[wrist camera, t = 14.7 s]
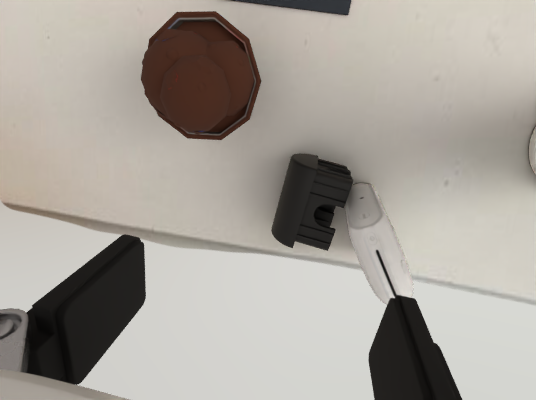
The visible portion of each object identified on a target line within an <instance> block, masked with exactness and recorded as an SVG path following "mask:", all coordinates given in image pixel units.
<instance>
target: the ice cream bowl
mask: <svg viewBox="0 0 536 400" xmlns="http://www.w3.org/2000/svg"><path fill="white" fill-rule="evenodd" d="M142 64H143V68H142V75H141V81H142V84H143V86H144V89H145V95H146V97H147V98H148V100H149V102H150V104H151V105H152V106H153V107H154V109H155V110H156V111H157V114H158V116H159V117H161V118H162V119H163V120H164V121H166V122H167V123H168V124H170V125H171V126H172V127H173V128H175V129H176V130H177V131H179V132H180V133H181V134H183V135H184V136H185V137H186V138H192V139H212V140H222V139H223V138H225V137H226V136H228V135H229V134H230V133H232V132H233V131H234V130H236V129H237V128H238V127H240V126H241V125H243V124H244V123H245V122H247V121H248V120H249V119H250V116H251V113H252V110H253V107H254V103H255V100H256V97H257V93H258V90H259V87H260V84H261V79H260V75H259V72H258V68H257V65H256V61H255V58H254V54H253V51H252V47H251V44H250V41H249V39H248V38H247V37H246V36H245V35H244V34H242V33H241V32H240V31H239V30H238V29H236V28H235V27H234V26H233V25H232V24H230V23H229V22H228V21H227V20H226V19H224V18H223V17H222V16H221V15H220V14H218V13H217V12H216V11H213V12H176V13H175V14H174V15H173V16H172V17H171V18H170V19H169V20H168V21H167V22H166V23H165V24H164V25H163V26H162V27H161V28H160V29H159V30H158V31H157V32H156V33H155V34H154V35H153V36H152V37H151V38H150V39H149V45H148V50H147V51H146V52H145V54H144V59H143V61H142Z"/></svg>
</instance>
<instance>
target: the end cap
mask: <svg viewBox="0 0 536 400" xmlns="http://www.w3.org/2000/svg"><path fill="white" fill-rule="evenodd" d="M350 175H351V172H350V171H349V170H348V169H347V167H346V166H343V165H340V164H336V163H332V162H329V161H325V160H321V159H318V156H315V155H311V154H302V153H299V154H294V155H292V156H291V159H290V163H289V166H288V170H287V174H286V177H285V181H284V185H283V188H282V192H281V196H280V200H279V203H278V207H277V211H276V214H275V218H274V222H273V225H272V234H273V236H274V237H275V238H276V239H277V240H278V241H279V242H280V243H282V244H284V245H286V246H288V247H291V248H293V246H294V242H295V241H296V242H299V243H303V244H306V245H310V246H313V247H317V248H320V249H323V250H327V251H328V249H329V247H330V244H331V241H332V238H333V236H334V233H335V229H334V228H331V227H330V225H331V222H332V219H333V216H334V213H333V212H334V209H335V207H336V206H338V207H342V208H344V206H345V204H346V201H347V198H348V195H349V193H350V190H351V187H352V184H353V180H352V177H351V176H350Z"/></svg>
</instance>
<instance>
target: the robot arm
mask: <svg viewBox="0 0 536 400" xmlns="http://www.w3.org/2000/svg"><path fill="white" fill-rule="evenodd" d="M529 159H530V164H531V167H532V169H533V172H534V173H535V174H536V127H535V129H534V131H533V134H532V137H531V140H530V145H529ZM144 260H145V259H144V243H143V242H141V240H140V238H138V237H134V236H130V235H122V236H121V237H119V238H118V239H117V240H116V241H114V242H113V243H112V244H110V245H109V246H108V247H106V248H105V249H104V250H103V251H101V252H100V253H99V254H97V255H96V256H95V257H94V258H92V259H91V260H90V261H88V262H87V263H86V264H85V265H84V266H82V267H81V268H79V269H78V270H77V271H76V272H74V273H73V274H72V275H70V276H69V277H68V278H67V279H65V280H64V281H63V282H61V283H60V284H59V285H58V286H56V287H55V288H54V289H53V290H51V291H50V292H49V293H47V294H46V295H45V296H44V297H42V298H41V299H40V300H38V301H37V302H36V303H35V304H33V305H32V307H33V308H32V309H30V310H29V311H28V312H27V313H26V312H25V311H23V310H20V309H3V310H0V400H129V399H125V398H121V397H118V396H114V395H111V394H107V393H104V392H100V391H96V390H92V389H89V388H85V387H81V386H78V385H77V384H79V383H81V382H82V381H83V380H84V378H85V377H86V376H87V375H88V373H89V372H90V371H91V369H92V368H93V367H94V366H95V364H96V363H97V362H98V361H99V360H100V358H101V357H102V356H103V354H104V353H105V352H106V351H107V349H108V348H109V347H110V346H111V344H112V343H113V342H114V341H115V339H116V338H117V337H118V336H119V335H120V333H121V332H122V331H123V329H124V328H125V327H126V326H127V325H128V323H129V322H130V321H131V319H132V318H133V317H134V316H135V314H136V313H137V312H138V311H139V309H140V308H141V307H142V305H143V304H144V301H145V296H146V292H145V261H144ZM369 366H370V373H371V379H372V385H373V391H374V398H375V400H462V398H461V396H460V394H459V391H458V389H457V386H456V384H455V382H454V379H453V377H452V375H451V372H450V370H449V368H448V365H447V363H446V361H445V358H444V356H443V354H442V351H441V349H440V347H439V346H438V345H437V344H436V343H434V342H433V340H432V338H431V336H430V333H429V331H428V328H427V325H426V323H425V321H424V318H423V316H422V313H421V311H420V309H419V306H418V304H417V301H416V300H415V299H414V298H410V297H405V296H401V295H397V296H396V297H395V298H390V300H389V302H388V305H387V307H386V310H385V313H384V315H383V318H382V320H381V323H380V326H379V328H378V331H377V333H376V336H375V339H374V341H373V344H372V346H371V349H370V352H369ZM75 384H76V385H75Z"/></svg>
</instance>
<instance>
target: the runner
mask: <svg viewBox="0 0 536 400" xmlns="http://www.w3.org/2000/svg"><path fill="white" fill-rule="evenodd" d="M234 1H241V2H249V3H257V4H265V5H273V6H280V7H288V8H296V9H304V10H311V11H319V12H327V13H335V14H343V15H348V13H349V8H350V4H351V0H234Z"/></svg>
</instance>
